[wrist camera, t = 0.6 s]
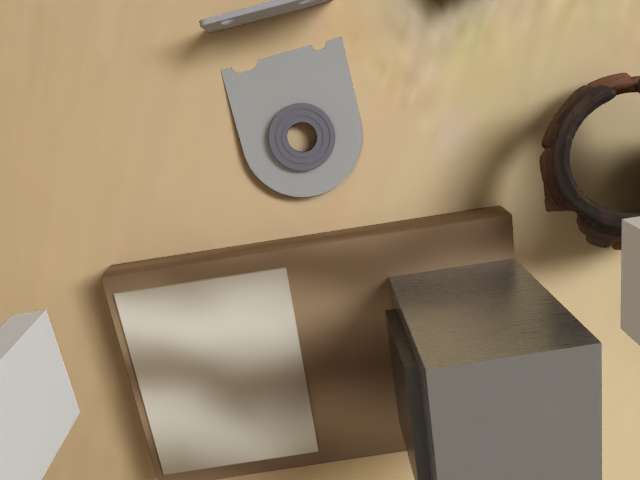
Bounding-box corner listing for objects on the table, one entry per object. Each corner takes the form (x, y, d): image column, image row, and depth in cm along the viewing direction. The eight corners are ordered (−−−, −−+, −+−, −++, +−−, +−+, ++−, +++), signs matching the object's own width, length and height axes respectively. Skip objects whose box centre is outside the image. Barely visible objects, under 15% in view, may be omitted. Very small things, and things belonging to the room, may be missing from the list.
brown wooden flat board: (111, 265, 35) (100, 279, 33) (499, 205, 34) (512, 215, 32) (166, 465, 39) (159, 489, 37) (511, 414, 39) (523, 434, 37)
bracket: (260, 205, 34) (256, 222, 31) (207, 23, 31) (197, 20, 28) (372, 177, 34) (380, 191, 31) (330, -10, 31) (334, -17, 28)
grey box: (377, 278, 33) (410, 371, 24) (514, 257, 33) (601, 342, 24) (395, 416, 36) (431, 549, 27) (521, 397, 36) (601, 524, 27)
